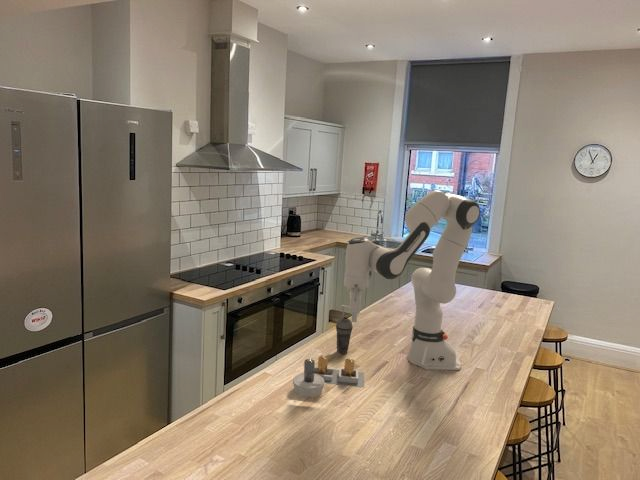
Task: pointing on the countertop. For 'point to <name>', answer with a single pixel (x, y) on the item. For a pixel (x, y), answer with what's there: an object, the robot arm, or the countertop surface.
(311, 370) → the cylinder
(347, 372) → the copper cell
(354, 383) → the gray slab
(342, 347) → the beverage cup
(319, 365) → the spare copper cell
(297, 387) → the ramekin
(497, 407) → the countertop surface
